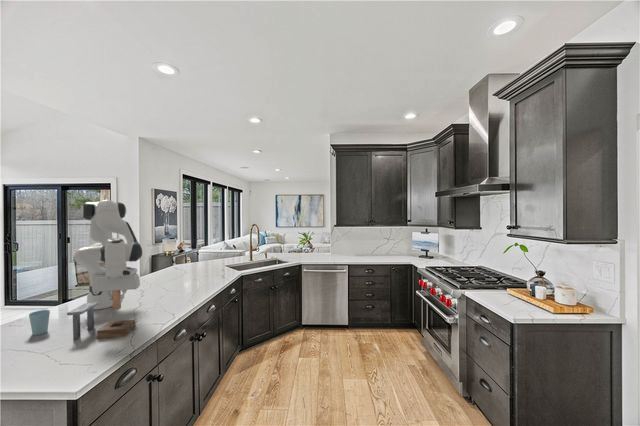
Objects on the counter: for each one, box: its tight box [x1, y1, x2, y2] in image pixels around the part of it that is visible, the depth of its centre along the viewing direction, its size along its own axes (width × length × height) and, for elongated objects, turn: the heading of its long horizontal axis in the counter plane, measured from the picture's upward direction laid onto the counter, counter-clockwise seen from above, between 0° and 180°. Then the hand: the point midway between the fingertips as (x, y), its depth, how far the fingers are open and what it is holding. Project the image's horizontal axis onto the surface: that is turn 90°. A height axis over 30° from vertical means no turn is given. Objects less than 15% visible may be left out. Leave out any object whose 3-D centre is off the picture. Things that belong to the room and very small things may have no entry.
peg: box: [112, 290, 122, 311], centre depth 147 cm, size 3×3×10 cm
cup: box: [28, 309, 51, 336], centre depth 149 cm, size 8×8×10 cm
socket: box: [96, 319, 137, 340], centre depth 147 cm, size 12×12×4 cm
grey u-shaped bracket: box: [66, 302, 98, 341], centre depth 147 cm, size 15×6×13 cm, turn 12°
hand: (116, 299), depth 147 cm, fingers closed on peg, 3 cm apart
